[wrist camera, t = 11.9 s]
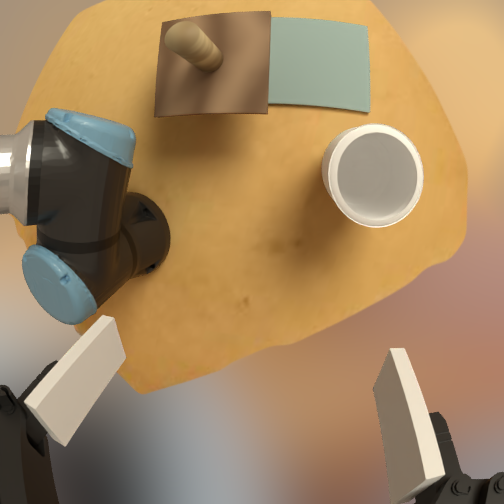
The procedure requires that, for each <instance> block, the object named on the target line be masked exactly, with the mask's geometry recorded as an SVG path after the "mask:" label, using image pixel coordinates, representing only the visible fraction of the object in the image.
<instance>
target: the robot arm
mask: <svg viewBox="0 0 504 504" xmlns="http://www.w3.org/2000/svg"><path fill="white" fill-rule="evenodd" d="M45 119H46V120H44V121H41V120H33V121H30V122H29V123H28V124H27V125H26V126H25V127H24V128H23V129H22V130H21V131H20V132H18V133H17V134H14V135H0V214H8V213H10V214H12V215H14V216H15V217H16V218H17V219H18V220H19V221H20V222H21V223H22V224H23V225H24V226H28V225H37V243H36V245H32V246H30V247H29V248H28V250H27V251H26V253H25V254H24V255H23V259H22V268H23V274H24V277H25V280H26V283H27V285H28V287H29V289H30V291H31V293H32V294H33V296H34V297H35V299H36V300H37V302H38V303H39V304H40V305H41V307H42V308H43V309H44V310H45V311H46V312H47V313H49V314H50V315H51V316H52V317H54V318H55V319H57V320H59V321H60V322H62V323H65V324H69V325H76V324H79V323H82V322H83V321H84V320H86V319H87V318H88V317H90V316H91V315H93V314H95V313H96V311H97V309H98V308H99V307H100V306H101V305H102V304H103V303H104V302H105V301H106V300H107V299H108V298H110V297H111V296H112V295H113V294H114V293H115V292H116V291H117V290H118V289H119V288H120V287H121V286H122V285H123V284H125V283H126V282H127V281H128V280H129V279H131V278H135V277H139V276H143V275H146V274H148V273H150V272H152V271H154V270H155V269H156V268H157V267H158V266H159V265H160V264H161V263H162V262H163V261H164V260H165V258H166V256H167V254H168V251H169V247H170V230H169V226H168V223H167V220H166V218H165V216H164V214H163V213H162V211H161V210H160V208H159V207H158V206H157V205H156V204H155V203H154V202H153V201H152V200H151V199H149V198H148V197H146V196H144V195H142V194H139V193H133V192H127V187H128V182H129V177H130V172H131V169H132V168H133V163H132V160H133V154H134V149H135V144H136V136H135V133H134V131H133V130H132V129H131V128H130V127H128V126H126V125H124V124H121V123H118V122H114V121H111V120H108V119H104V118H100V117H96V116H92V115H88V114H84V113H80V112H75V111H70V110H64V109H58V108H51V109H50V110H49V111H48V113H47V114H46V115H45ZM125 359H126V355H125V352H124V349H123V346H122V343H121V340H120V336H119V333H118V330H117V326H116V322H115V319H114V317H109V316H105V315H102V316H101V317H100V318H99V319H98V320H97V321H96V322H95V323H94V324H93V325H92V326H91V327H90V328H89V329H88V331H87V332H86V333H85V334H84V335H83V336H82V337H81V338H80V339H79V340H78V341H77V342H76V343H75V344H74V345H73V346H72V347H71V348H70V350H69V351H68V352H67V353H66V354H65V355H64V356H63V357H62V358H61V359H60V360H59V361H54V362H52V363H51V364H49V365H47V366H46V368H45V369H44V370H43V371H42V372H41V374H39V375H38V376H37V378H36V379H35V380H34V381H33V382H32V383H31V384H30V386H29V387H28V388H27V389H26V390H25V391H24V392H23V393H22V395H21V396H20V397H19V398H18V399H16V397H15V396H14V395H13V393H12V392H11V390H10V388H9V387H7V386H6V385H0V504H59V502H58V497H57V493H56V489H55V484H54V479H53V473H52V468H51V461H50V454H49V446H48V440H47V437H46V434H47V433H49V434H50V436H51V437H52V438H53V439H54V440H55V441H57V442H59V443H60V444H62V445H64V446H66V445H67V443H68V442H69V440H70V439H71V437H72V436H73V434H74V432H75V431H76V430H77V428H78V427H79V425H80V424H81V422H82V421H83V419H84V418H85V416H86V415H87V413H88V412H89V410H90V409H91V407H92V406H93V404H94V403H95V401H96V400H97V398H98V397H99V396H100V394H101V393H102V391H103V390H104V388H105V387H106V386H107V384H108V383H109V381H110V380H111V378H112V377H113V376H114V374H115V373H116V371H117V370H118V369H119V367H120V366H121V364H122V363H123V362H124V360H125ZM373 392H374V397H375V401H376V406H377V412H378V417H379V422H380V428H381V434H382V440H383V446H384V453H385V459H386V467H387V475H388V484H389V494H390V504H401V503H405V502H409V501H410V500H411V499H413V498H414V497H415V499H416V503H414V504H504V472H499V473H497V474H495V475H494V476H493V477H491V478H490V479H471V477H469V476H468V475H467V474H463V473H462V471H461V469H460V466H459V462H458V458H457V455H456V451H455V448H454V445H453V442H452V441H451V439H452V438H451V435H450V433H449V429H448V426H447V423H446V420H445V419H444V418H443V417H442V415H441V414H440V413H439V412H434V413H428V411H427V407H426V404H425V402H424V398H423V396H422V393H421V390H420V387H419V384H418V382H417V379H416V376H415V374H414V371H413V368H412V366H411V363H410V361H409V358H408V356H407V353H406V351H405V348H390V349H389V352H388V354H387V357H386V359H385V362H384V364H383V366H382V369H381V371H380V373H379V376H378V378H377V380H376V382H375V385H374V387H373Z"/></svg>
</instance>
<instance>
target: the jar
mask: <svg viewBox="0 0 504 504" xmlns="http://www.w3.org/2000/svg"><path fill="white" fill-rule="evenodd" d="M322 178H323V182H324V185H325V188H326V190H327V192H328V193H329V195H330V197H331V198H332V199H333V200H334V202H335V203H336V205H337V206H338V208H339V209H340V210H341V211H342V212H343V213H344V214H345V215H346V216H347V217H348V218H350V219H351V220H353V221H355V222H356V223H358V224H361V225H364V226H368V227H386V226H389V225H392V224H395V223H397V222H399V221H400V220H402V219H403V218H405V217H406V216H407V215H408V214H409V213H410V212H411V211H412V209H413V208H414V207H415V205H416V204H417V202H418V200H419V197H420V195H421V192H422V188H423V181H424V172H423V165H422V161H421V158H420V155H419V153H418V151H417V149H416V147H415V146H414V144H413V143H412V141H411V140H410V139H409V138H408V137H407V136H406V135H405V134H403V133H402V132H401V131H399V130H397V129H396V128H394V127H391V126H388V125H385V124H378V123H372V124H365V125H362V126H359V127H354V128H351V129H348V130H345V131H343V132H342V133H340V134H339V135H337V136H336V137H335V138H334V139H333V140H332V141H331V142H330V144H329V145H328V147H327V149H326V151H325V153H324V156H323V160H322Z"/></svg>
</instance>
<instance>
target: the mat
mask: <svg viewBox="0 0 504 504" xmlns="http://www.w3.org/2000/svg"><path fill="white" fill-rule="evenodd" d="M268 104H293V105H309V106H320V107H330V108H339V109H347V110H355V111H361V112H368V113H370V61H369V43H368V30H367V26H363V25H357V24H351V23H344V22H337V21H329V20H319V19H306V18H284V17H271V40H270V68H269V94H268Z"/></svg>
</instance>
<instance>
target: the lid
mask: <svg viewBox="0 0 504 504" xmlns="http://www.w3.org/2000/svg"><path fill="white" fill-rule="evenodd" d="M270 40H271V12H270V11H252V12H232V13H220V14H211V15H203V16H195V17H189V18H183V19H177V20H172V21H167V22H162V28H161V36H160V45H159V54H158V65H157V77H156V92H155V114H154V117H158V118H159V117H170V116H183V115H201V114H268V94H269V68H270Z"/></svg>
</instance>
